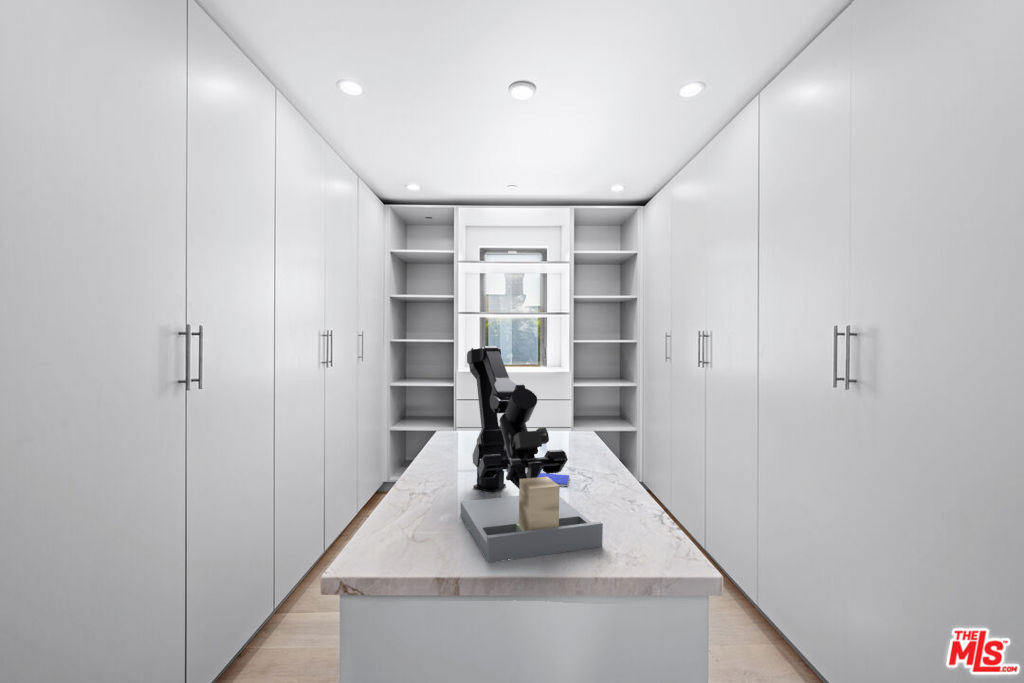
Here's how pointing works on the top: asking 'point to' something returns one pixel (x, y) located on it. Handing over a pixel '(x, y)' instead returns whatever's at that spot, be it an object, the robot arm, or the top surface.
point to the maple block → (538, 503)
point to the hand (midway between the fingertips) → (532, 501)
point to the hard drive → (557, 478)
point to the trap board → (508, 540)
